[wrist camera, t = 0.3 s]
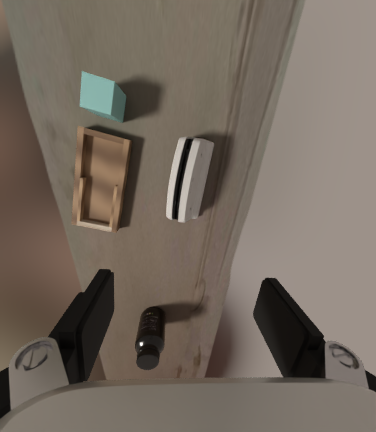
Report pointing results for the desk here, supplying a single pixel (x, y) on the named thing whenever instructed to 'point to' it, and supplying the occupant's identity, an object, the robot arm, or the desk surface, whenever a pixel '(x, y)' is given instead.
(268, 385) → the robot arm
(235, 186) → the desk surface
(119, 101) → the aqua rectangular block
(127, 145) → the slot board
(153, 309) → the supplement bottle
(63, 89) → the desk surface
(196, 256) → the desk surface
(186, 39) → the desk surface
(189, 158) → the white piece
